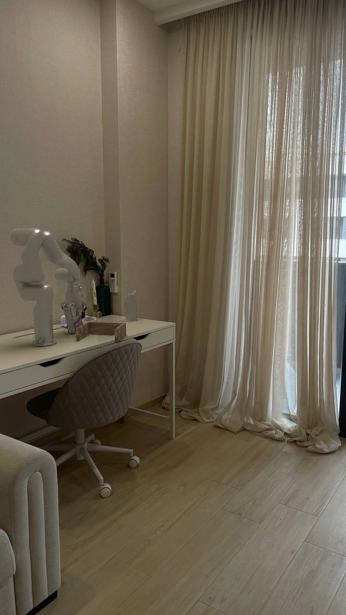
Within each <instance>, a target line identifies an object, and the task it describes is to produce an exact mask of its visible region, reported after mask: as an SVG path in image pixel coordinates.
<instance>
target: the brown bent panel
mask: <svg viewBox="0 0 346 615" xmlns="http://www.w3.org/2000/svg"><path fill="white" fill-rule="evenodd" d="M89 335H99V336H100V335H101V336H114V343H118V342H120V340H122V339H123V338H125V337H126V336H127V323H126V322H113V321H111V322H107V321H105V322H104V321H103V322H87V323H85V324H83V325H81V326H79V327H78V328H76V335H75V337H76V338H75V340H76V341H75V342H80V341H82V340H83V339H85V338H86V337H88V336H89Z"/></svg>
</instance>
